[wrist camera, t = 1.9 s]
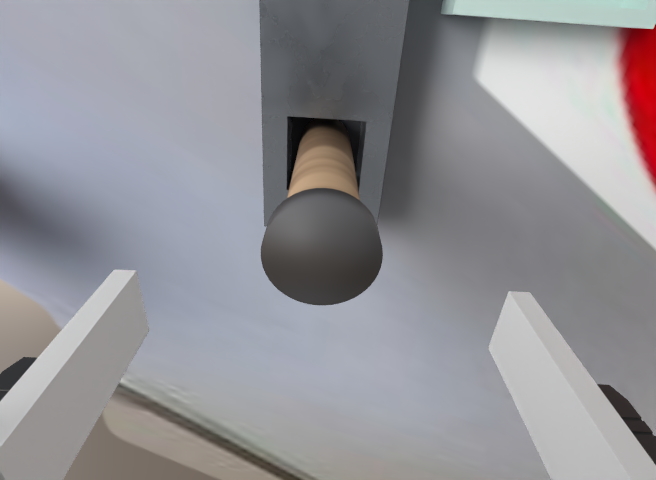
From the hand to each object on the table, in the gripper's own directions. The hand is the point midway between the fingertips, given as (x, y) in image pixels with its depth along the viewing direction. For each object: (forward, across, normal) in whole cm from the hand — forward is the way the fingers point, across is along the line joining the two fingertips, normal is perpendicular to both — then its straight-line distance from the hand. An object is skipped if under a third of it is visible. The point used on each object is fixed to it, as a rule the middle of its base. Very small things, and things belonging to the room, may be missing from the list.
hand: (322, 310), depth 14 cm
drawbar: (+20, 0, +6) cm, 22 cm away
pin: (+21, 0, 0) cm, 21 cm away
